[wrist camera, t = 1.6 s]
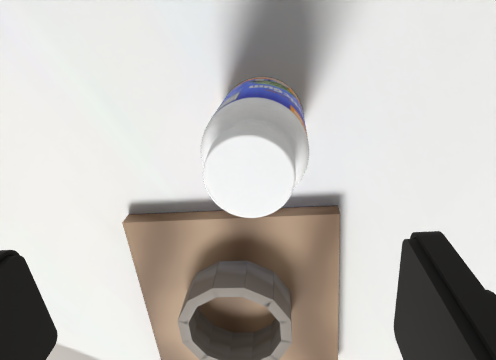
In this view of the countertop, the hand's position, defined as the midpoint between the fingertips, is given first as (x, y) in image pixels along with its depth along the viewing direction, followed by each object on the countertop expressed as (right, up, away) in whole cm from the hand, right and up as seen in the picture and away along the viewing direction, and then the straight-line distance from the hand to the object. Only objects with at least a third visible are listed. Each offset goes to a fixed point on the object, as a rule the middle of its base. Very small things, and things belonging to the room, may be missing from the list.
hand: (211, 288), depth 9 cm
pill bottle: (+2, +7, +15) cm, 17 cm away
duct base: (0, -7, +21) cm, 23 cm away
